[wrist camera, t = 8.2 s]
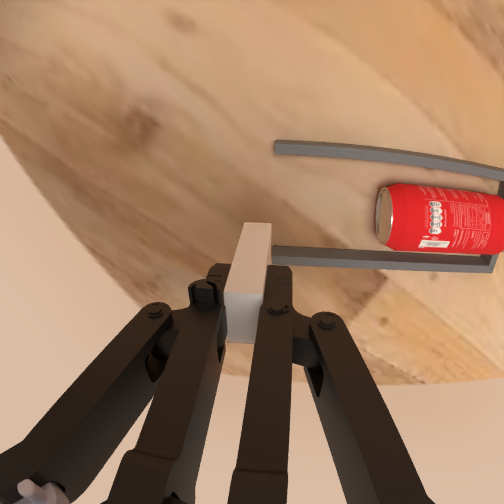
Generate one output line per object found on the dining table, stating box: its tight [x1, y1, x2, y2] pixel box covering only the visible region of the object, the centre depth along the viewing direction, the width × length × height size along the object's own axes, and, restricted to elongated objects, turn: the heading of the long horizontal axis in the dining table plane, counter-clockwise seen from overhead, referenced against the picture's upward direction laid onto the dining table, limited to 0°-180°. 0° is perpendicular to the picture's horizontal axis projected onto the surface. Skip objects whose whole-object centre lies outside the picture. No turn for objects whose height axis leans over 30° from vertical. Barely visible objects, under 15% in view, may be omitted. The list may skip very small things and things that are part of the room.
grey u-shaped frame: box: [272, 140, 504, 273], centre depth 24 cm, size 22×10×2 cm, turn 89°
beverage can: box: [376, 183, 504, 255], centre depth 22 cm, size 5×5×12 cm
